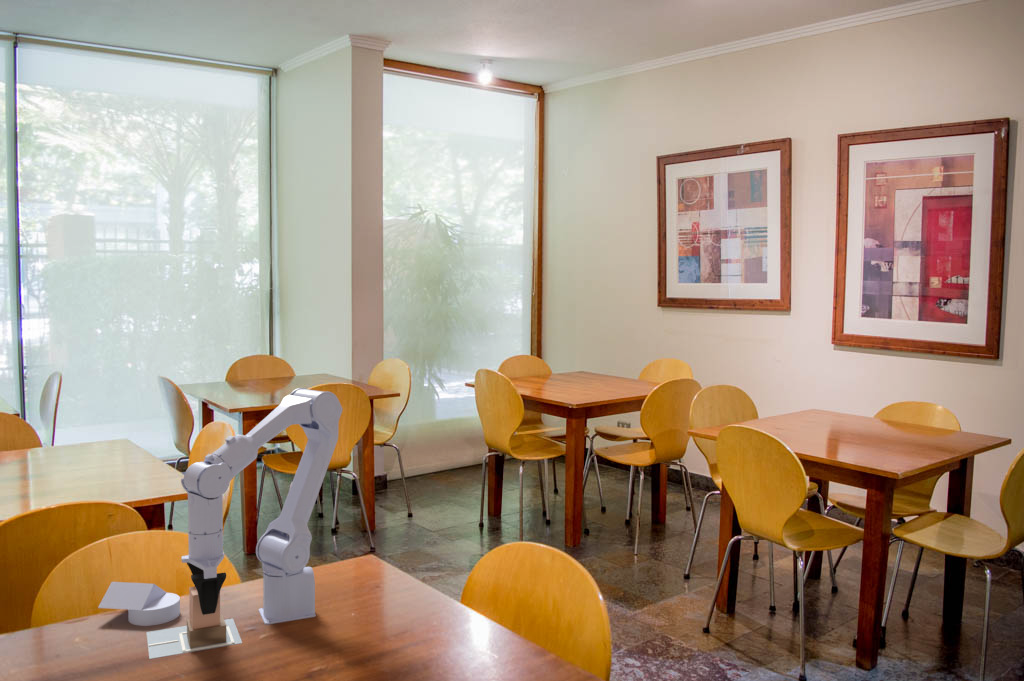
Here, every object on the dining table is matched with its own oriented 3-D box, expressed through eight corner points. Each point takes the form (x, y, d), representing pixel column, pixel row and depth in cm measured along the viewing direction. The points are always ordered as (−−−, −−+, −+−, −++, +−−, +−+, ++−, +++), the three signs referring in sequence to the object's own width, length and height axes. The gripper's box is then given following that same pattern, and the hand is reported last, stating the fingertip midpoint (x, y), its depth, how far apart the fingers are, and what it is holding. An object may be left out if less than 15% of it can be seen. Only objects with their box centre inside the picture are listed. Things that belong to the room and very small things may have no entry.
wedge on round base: (98, 625, 151) (164, 629, 150) (97, 590, 151) (164, 593, 149) (125, 607, 160) (188, 610, 159) (125, 573, 159) (188, 576, 158)
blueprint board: (233, 620, 154) (232, 617, 154) (242, 645, 143) (242, 642, 143) (146, 634, 147) (146, 631, 147) (149, 661, 136) (149, 657, 136)
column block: (216, 615, 147) (215, 583, 147) (220, 624, 143) (219, 591, 143) (189, 620, 145) (189, 587, 145) (193, 629, 141) (192, 595, 141)
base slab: (222, 629, 149) (221, 613, 149) (226, 642, 143) (226, 625, 143) (186, 635, 146) (186, 618, 146) (189, 648, 141) (189, 631, 140)
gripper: (178, 522, 148) (178, 595, 149) (184, 544, 135) (185, 624, 136) (218, 518, 151) (219, 589, 152) (229, 539, 138) (229, 617, 139)
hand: (206, 605), depth 144 cm, fingers open, 7 cm apart
